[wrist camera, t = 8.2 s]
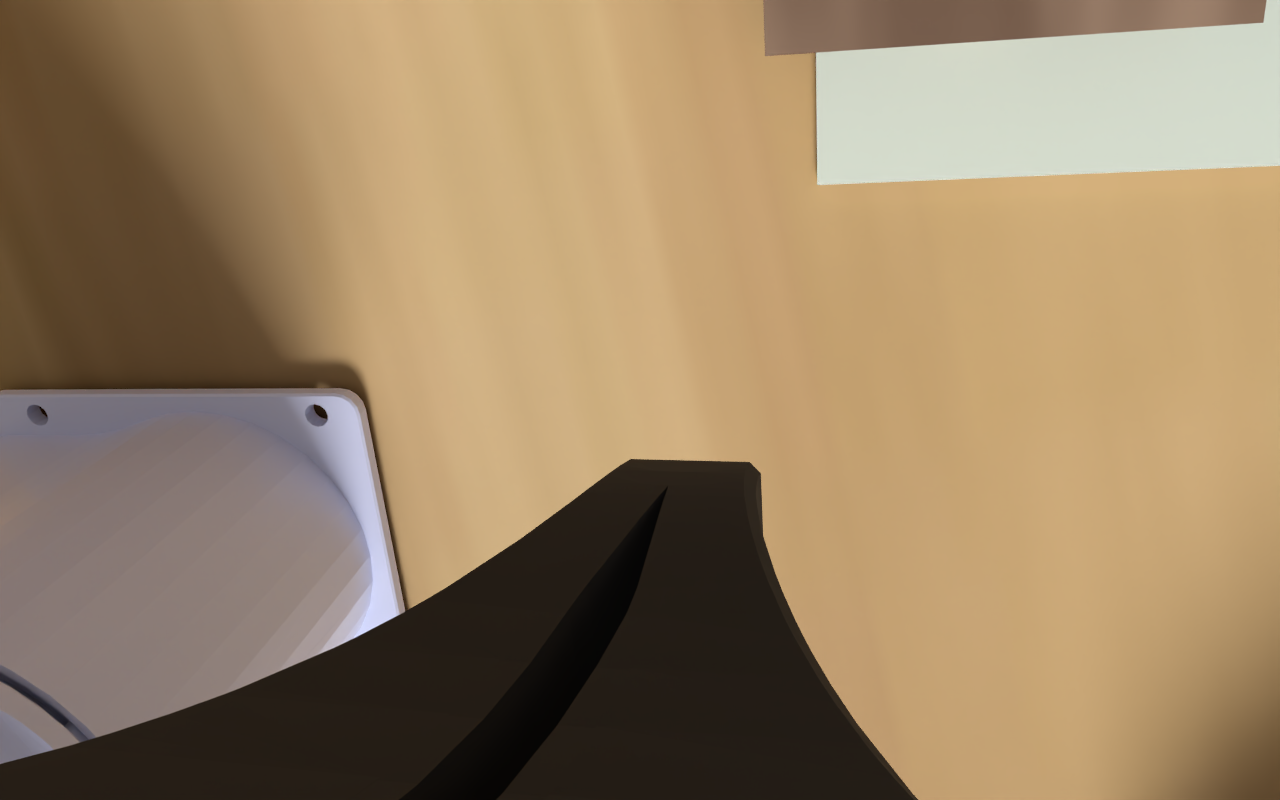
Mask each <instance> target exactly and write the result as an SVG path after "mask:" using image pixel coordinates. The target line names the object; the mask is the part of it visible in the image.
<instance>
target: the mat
mask: <svg viewBox="0 0 1280 800" xmlns="http://www.w3.org/2000/svg"><path fill="white" fill-rule="evenodd" d="M816 103H817V185H829V184H853V183H877V182H900V181H924V180H948V179H972V178H996V177H1020V176H1044V175H1068V174H1092V173H1116V172H1140V171H1163V170H1187V169H1211V168H1235V167H1259V166H1280V0H1267V1H1266V8H1265V15H1264V22H1263V23H1252V24H1237V25H1222V26H1207V27H1192V28H1177V29H1162V30H1147V31H1132V32H1117V33H1102V34H1087V35H1072V36H1058V37H1043V38H1028V39H1013V40H998V41H983V42H968V43H953V44H938V45H923V46H908V47H893V48H878V49H863V50H848V51H833V52H818V53H816Z"/></svg>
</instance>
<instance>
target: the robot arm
mask: <svg viewBox="0 0 1280 800" xmlns="http://www.w3.org/2000/svg"><path fill="white" fill-rule="evenodd" d="M314 404H315V405H319V406H321V407H322V408H323V409H325V411H326V413H327V415H328V419H324V418H321V417H320V416H318V415H317V414H316V412H315V410H314ZM39 406H40V407H41V408H43V409H44V410H45V412H46V413H47V415H48V418H47V417H46V416H45V415H44V414H42V412H41V410H40V408H39ZM0 800H918V799H917V798H916V797H915V796H914V795H913V794H912V792H911V791H910V790H909V789H908V787H907V786H906V785H905V784H904V782H903V781H902V780H901V779H900V777H899V776H898V775H897V774H896V772H895V771H894V770H893V768H892V767H891V766H890V765H889V763H888V762H887V761H886V760H885V758H884V757H883V756H882V755H881V753H880V752H879V751H878V750H877V748H876V747H875V746H874V745H873V743H872V742H871V741H870V740H869V738H868V737H867V736H866V735H865V733H864V732H863V731H862V729H861V728H860V727H859V726H858V724H857V723H856V722H855V720H854V719H853V717H852V716H851V714H850V713H849V711H848V710H847V708H846V707H845V705H844V704H843V702H842V701H841V699H840V698H839V696H838V695H837V693H836V692H835V690H834V689H833V687H832V686H831V684H830V682H829V681H828V679H827V677H826V676H825V674H824V672H823V671H822V669H821V667H820V666H819V664H818V662H817V661H816V659H815V657H814V655H813V654H812V652H811V650H810V648H809V646H808V644H807V643H806V641H805V639H804V637H803V635H802V633H801V631H800V629H799V627H798V625H797V623H796V621H795V619H794V617H793V614H792V612H791V610H790V608H789V605H788V603H787V601H786V599H785V597H784V594H783V592H782V589H781V587H780V584H779V582H778V579H777V577H776V574H775V572H774V568H773V565H772V562H771V559H770V556H769V553H768V550H767V547H766V544H765V541H764V537H763V522H762V495H761V473H760V472H759V471H758V470H757V469H756V468H755V467H754V466H753V465H752V464H751V463H750V462H721V461H680V460H640V459H630V460H629V461H627V462H625V463H624V464H622V465H620V466H619V467H618V468H616V469H615V470H613V471H612V472H610V473H609V474H608V475H606V476H605V477H604V478H602V479H601V480H600V481H598V482H597V483H596V484H594V485H593V486H592V487H590V488H589V489H588V490H586V491H585V492H584V493H582V494H581V495H580V496H578V497H577V498H576V499H574V500H573V501H572V502H570V503H569V504H568V505H566V506H565V507H564V508H562V509H561V510H559V511H558V512H557V513H555V514H554V515H553V516H551V517H550V518H549V519H547V520H546V521H544V522H543V523H542V524H540V525H539V526H538V527H536V528H535V529H534V530H532V531H531V532H529V533H528V534H527V535H525V536H524V537H523V538H521V539H520V540H518V541H517V542H515V543H514V544H512V545H511V546H509V547H508V548H506V549H505V550H503V551H502V552H500V553H499V554H497V555H496V556H494V557H493V558H491V559H489V560H488V561H486V562H485V563H483V564H482V565H480V566H479V567H477V568H476V569H474V570H473V571H471V572H470V573H468V574H467V575H465V576H463V577H462V578H460V579H459V580H457V581H456V582H454V583H453V584H451V585H450V586H448V587H447V588H445V589H443V590H442V591H440V592H438V593H437V594H435V595H433V596H432V597H430V598H428V599H426V600H425V601H423V602H421V603H419V604H418V605H416V606H414V607H412V608H411V609H409V610H407V611H405V607H404V602H403V597H402V592H401V587H400V582H399V576H398V571H397V566H396V561H395V556H394V551H393V546H392V541H391V536H390V530H389V525H388V520H387V515H386V510H385V505H384V500H383V495H382V490H381V484H380V479H379V474H378V469H377V464H376V459H375V454H374V449H373V443H372V438H371V433H370V428H369V423H368V418H367V413H366V408H365V406H364V403H363V401H362V400H361V399H360V398H359V396H358V395H357V394H355V393H354V392H352V391H350V390H348V389H343V388H251V389H38V390H1V391H0Z"/></svg>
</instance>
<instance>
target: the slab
mask: <svg viewBox="0 0 1280 800" xmlns="http://www.w3.org/2000/svg"><path fill="white" fill-rule="evenodd" d="M1266 1H1267V0H764V33H765V56H774V55H788V54H803V53H818V52H833V51H848V50H863V49H878V48H893V47H908V46H923V45H938V44H953V43H968V42H983V41H998V40H1013V39H1028V38H1043V37H1058V36H1072V35H1087V34H1102V33H1117V32H1132V31H1147V30H1162V29H1177V28H1192V27H1207V26H1222V25H1237V24H1252V23H1263V22H1264V15H1265V8H1266Z"/></svg>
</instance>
